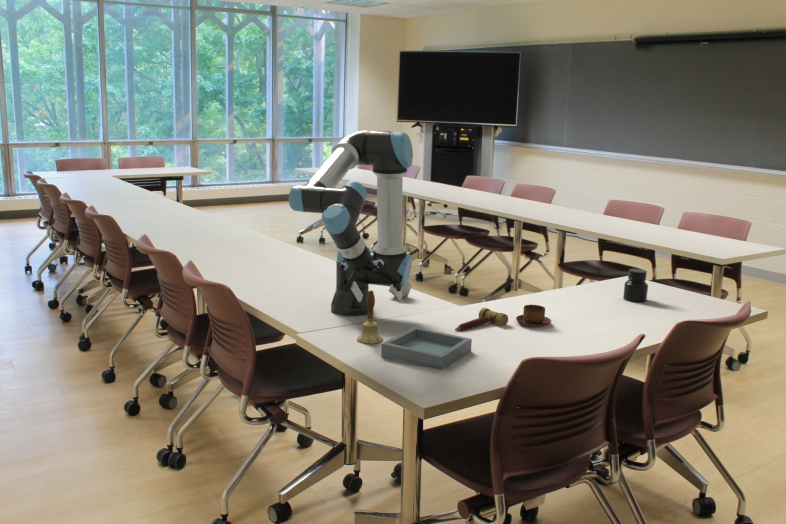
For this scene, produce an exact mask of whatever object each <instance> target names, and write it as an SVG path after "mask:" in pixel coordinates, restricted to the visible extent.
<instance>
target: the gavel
mask: <svg viewBox="0 0 786 524" xmlns="http://www.w3.org/2000/svg"><path fill="white" fill-rule="evenodd" d="M508 322H509V316H508V315H507V314H506V313H503V312H497V311H493V310H491V309H490V308H488V307H482V308H481V309H480V310H479V312H478V318H475V319H472V320H469V321H467V322H464V323H460V324H459V325H458V326H456V327H455V328H454V331H456V332H464V331H463V330H465V331H469V330H470V329H474V328H478V327H479V326H484V325H486V324H487V323H493V324H494V323H495V325H496V326H498V325H499V326H498V327H505V326H507V324H508Z"/></svg>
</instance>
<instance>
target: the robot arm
mask: <svg viewBox="0 0 786 524" xmlns="http://www.w3.org/2000/svg"><path fill="white" fill-rule="evenodd" d="M413 158H414V150H413V144H412V140H411V137H410V136H409V134H407V133H406V132H403V131H396V130H370V129H362V130H358V131H355V132H352V133H350V134H348V135H346V136H345V137H343V138H341V139H340V140H339V141H338V142H337V143H336V144H334V146H333V147H332V149H331V153H330V155H329V157H328V158H327V159H325V161H324V162H323V164H322V165H321V166H320V167H319V168H318V169H317V171H316V172H315V173H314V174H313V175H312V176H311V178H310V179H309V180H308V181H307V182H306V183H305V184H304V185H301V184H299V185H294V186H292V187H291V188H290V190H289V195H288V204H289V206H290V209H291V210H292V211H295V212H302V213H315V214H317V213H318V214H321V221H322V223H323V225H324V227H325V230H326V231H327V233H328V234H329V236H330V237H331V239H332V240H333V242H334V244H335V246H336V248H337V249H338V251H337V253H336V261H335V264H336V268H335V269H336V274H335V275H336V278H335V280H336V282H335V283H336V284H335V285H336V287H335V292H334V295H333V298H332V301H331V304H330V311H331V312H332V313H334V314H336V315H341V316H348V317H350V316H351V317H359V316H366V315H368V307H367V296H368V293H369V291H370V290H369V287H370V285H373V286H383V287H390V286H391V287H392V289H393V291H394V293H395V295H396V297H397V298H398V299H397V298H396V297H395V298H396V299H397V300H398V301H401V300H402V299H403V298H402V295H403V293H402V291H401V287H402V286H404V285H405V284H406V282H407V281H408V280H409V277H410V273H411V269H412V262H413V259H412V255H411V254H408V253H407V247H406V246H404V244H403V177H404V176H405V175H406V174H407V173H408V169H410V167H412V165H413ZM356 166H372V173H373V174H374V175H375V176H376V177H377V180H376V189H377V190H376V192H377V195H376V199H377V200H376V201H377V202H376V203H377V209H376V210H377V215H376V216H377V225H376V226H377V244H376V245H375V246H374V247H373V251H371V248H370V246H368V245H366V242H365V241H364V238H363V237H362V235H361V234H360V232H359V230H358V228H357V223H358V221H359V218H360V215H361V213H362V210H363V208H364V206H365V203H366V198H367V195H368V194H367V193H368V192H367V190H366V188H365V186H364V185H363V184H361V183H359V182H357V181H353V180H351V181H347V182H345V183H344V184H343V186H341V188H339V187H338V188H337V186H338V185H339V183H340V182H341V181H342V179H343V178H344V177H345V176H346V175H347V173H348V172H349V171H350V170H353V169H354V168H356ZM401 298H402V299H401Z"/></svg>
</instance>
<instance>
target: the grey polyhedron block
mask: <svg viewBox="0 0 786 524" xmlns="http://www.w3.org/2000/svg"><path fill="white" fill-rule="evenodd" d="M412 286H413V285H412V284H411V283H410V282H409V281H408V280H407V282H406V284H405V285H404V286H402V287H401V291H402V293H403V295H402V298H401V300H402V299H406V298H408V296H409V294H410V292H411V290H412ZM388 292H389V293H390V294H391V295H393V297H395V298H396V299H397V300H398V298H397V297H396V295H395V293H394V291H393V289H392V287H391V286H389V289H388Z"/></svg>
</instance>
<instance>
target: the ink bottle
mask: <svg viewBox="0 0 786 524" xmlns="http://www.w3.org/2000/svg"><path fill="white" fill-rule="evenodd" d="M647 273H648V271H647V270H645V269H641V268H629V269H628V277H627V279H628V280H626V281H625V282H624V285H623V286H624V287H623V295H622V296H623V299H624V300H625V301H629V302H633V303H644V302H647V299H648V289H649V285H648V283H647V282H646V281H647Z"/></svg>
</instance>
